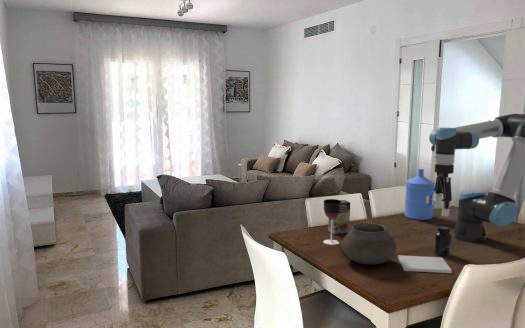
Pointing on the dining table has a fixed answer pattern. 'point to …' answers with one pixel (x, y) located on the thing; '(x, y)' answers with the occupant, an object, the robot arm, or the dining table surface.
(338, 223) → the coffee box
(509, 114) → the robot arm
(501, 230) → the dining table surface
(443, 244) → the supplement bottle
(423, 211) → the water jug
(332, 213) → the wineglass
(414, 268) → the stone board
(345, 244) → the clay pot
